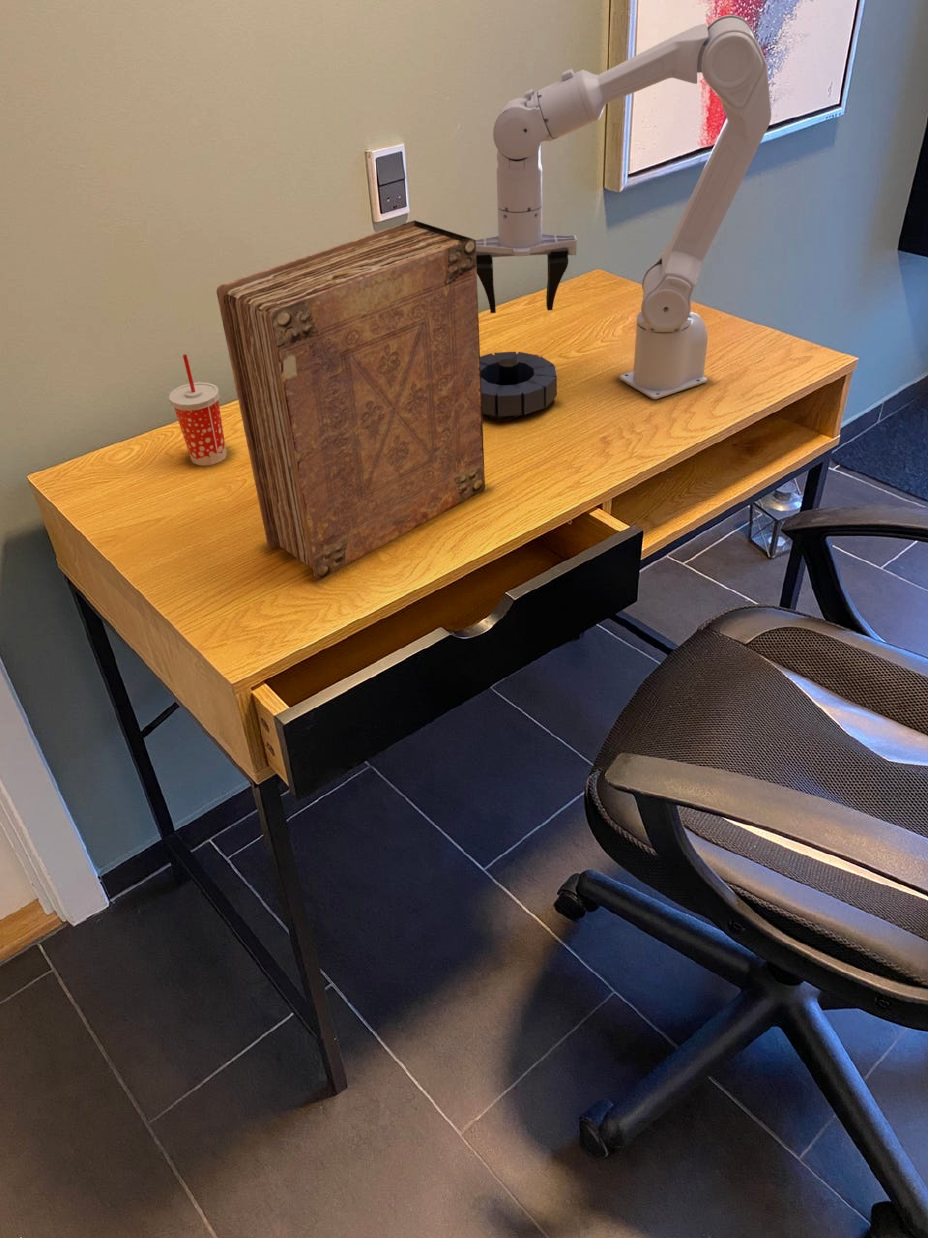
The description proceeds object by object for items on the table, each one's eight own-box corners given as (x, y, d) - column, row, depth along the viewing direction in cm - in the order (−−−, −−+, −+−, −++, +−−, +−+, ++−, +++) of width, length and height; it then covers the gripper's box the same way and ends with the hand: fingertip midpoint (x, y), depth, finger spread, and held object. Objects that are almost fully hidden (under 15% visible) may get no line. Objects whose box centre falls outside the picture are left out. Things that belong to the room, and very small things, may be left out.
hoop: (521, 363, 143) (521, 343, 142) (575, 397, 134) (575, 377, 133) (442, 388, 139) (440, 368, 137) (492, 425, 130) (491, 404, 128)
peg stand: (519, 380, 142) (518, 342, 138) (554, 404, 136) (554, 365, 132) (464, 397, 139) (462, 359, 135) (498, 422, 133) (497, 383, 129)
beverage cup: (215, 439, 133) (192, 340, 124) (242, 455, 129) (220, 353, 120) (176, 457, 130) (149, 356, 121) (202, 473, 126) (176, 371, 117)
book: (315, 582, 107) (267, 312, 88) (267, 547, 113) (212, 287, 94) (486, 489, 120) (476, 236, 101) (435, 462, 125) (417, 217, 106)
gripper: (463, 218, 124) (468, 323, 133) (579, 212, 124) (577, 317, 132) (463, 200, 130) (467, 302, 138) (574, 195, 129) (572, 297, 138)
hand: (521, 308), depth 136 cm, fingers open, 7 cm apart
